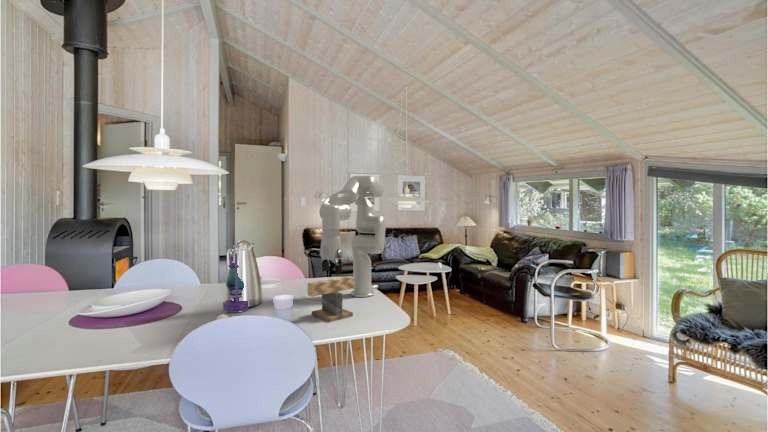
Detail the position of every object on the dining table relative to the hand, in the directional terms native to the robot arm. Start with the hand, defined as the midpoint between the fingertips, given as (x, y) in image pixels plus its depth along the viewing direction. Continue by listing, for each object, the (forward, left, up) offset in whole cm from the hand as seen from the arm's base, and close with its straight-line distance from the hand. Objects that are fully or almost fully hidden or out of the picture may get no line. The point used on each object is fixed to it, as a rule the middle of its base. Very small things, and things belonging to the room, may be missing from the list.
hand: (331, 272), depth 166 cm
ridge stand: (0, 0, -19) cm, 19 cm away
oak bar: (0, 0, -8) cm, 8 cm away
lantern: (+27, -37, -19) cm, 50 cm away
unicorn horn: (+38, -10, -19) cm, 44 cm away
